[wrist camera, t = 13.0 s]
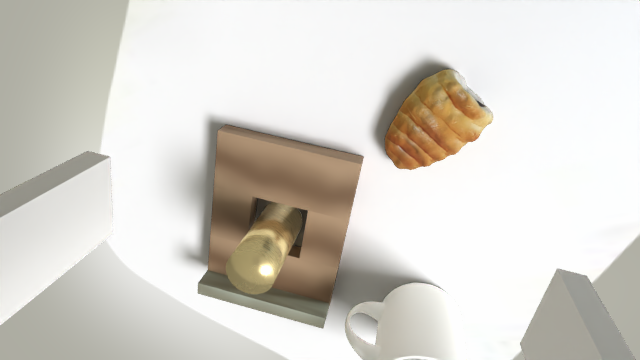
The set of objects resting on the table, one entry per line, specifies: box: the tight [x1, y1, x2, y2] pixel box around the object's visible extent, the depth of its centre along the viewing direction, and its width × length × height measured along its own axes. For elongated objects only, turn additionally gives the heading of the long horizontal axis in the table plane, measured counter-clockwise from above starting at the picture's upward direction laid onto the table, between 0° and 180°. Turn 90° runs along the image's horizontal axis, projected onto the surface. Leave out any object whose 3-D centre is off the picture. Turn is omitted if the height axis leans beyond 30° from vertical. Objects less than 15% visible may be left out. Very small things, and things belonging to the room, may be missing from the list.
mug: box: [345, 283, 467, 360], centre depth 43 cm, size 9×12×11 cm
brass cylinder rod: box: [226, 202, 303, 294], centre depth 42 cm, size 4×4×10 cm
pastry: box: [385, 69, 493, 170], centre depth 38 cm, size 9×7×4 cm
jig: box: [198, 125, 364, 328], centre depth 45 cm, size 18×14×4 cm
